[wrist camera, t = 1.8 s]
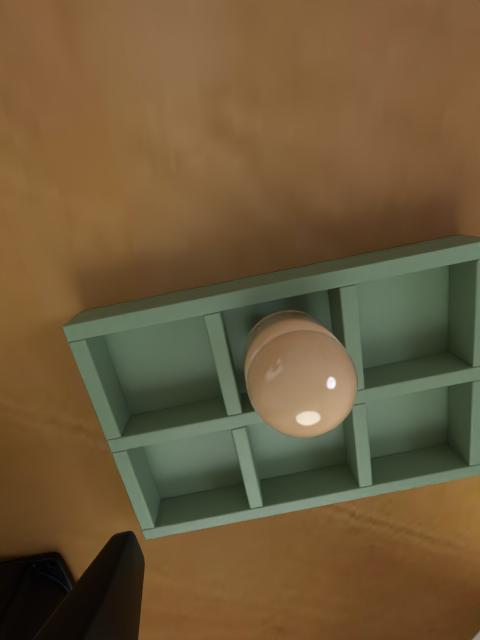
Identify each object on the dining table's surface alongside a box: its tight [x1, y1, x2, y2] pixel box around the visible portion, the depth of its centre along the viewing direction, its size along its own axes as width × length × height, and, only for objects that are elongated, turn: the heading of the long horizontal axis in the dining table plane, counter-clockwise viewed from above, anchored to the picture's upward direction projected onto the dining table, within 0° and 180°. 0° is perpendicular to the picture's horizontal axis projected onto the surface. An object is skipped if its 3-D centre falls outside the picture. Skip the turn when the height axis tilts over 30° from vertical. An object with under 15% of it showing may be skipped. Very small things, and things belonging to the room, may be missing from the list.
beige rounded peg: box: [243, 310, 358, 438], centre depth 15 cm, size 4×4×7 cm
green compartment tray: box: [62, 235, 480, 540], centre depth 18 cm, size 13×20×2 cm
